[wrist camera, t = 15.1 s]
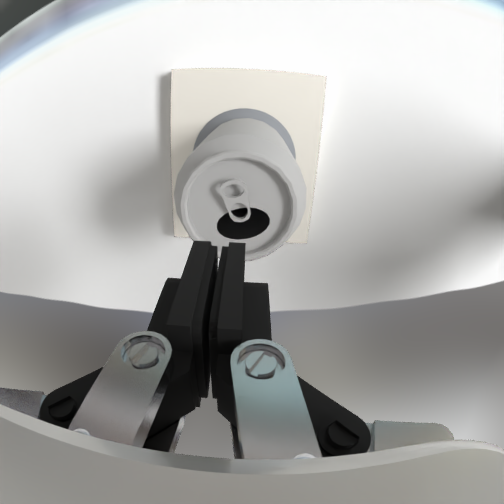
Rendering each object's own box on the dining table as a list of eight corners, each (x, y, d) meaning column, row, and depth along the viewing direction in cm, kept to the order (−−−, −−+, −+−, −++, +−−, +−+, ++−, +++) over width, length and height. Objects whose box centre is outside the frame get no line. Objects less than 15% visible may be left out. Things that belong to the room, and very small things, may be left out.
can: (213, 206, 28) (190, 283, 18) (192, 128, 25) (147, 159, 14) (294, 190, 27) (319, 260, 17) (279, 109, 24) (299, 125, 13)
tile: (322, 77, 24) (326, 76, 22) (304, 236, 31) (306, 244, 30) (175, 70, 23) (171, 69, 22) (177, 230, 31) (174, 237, 30)
